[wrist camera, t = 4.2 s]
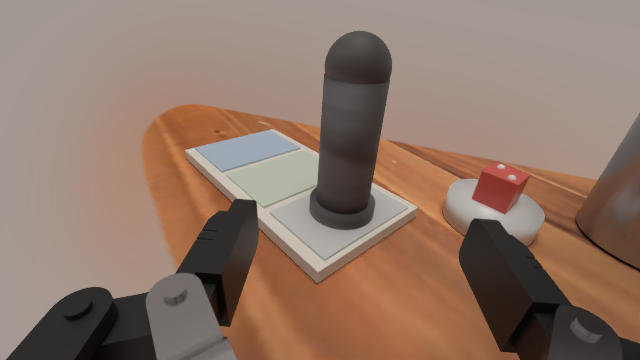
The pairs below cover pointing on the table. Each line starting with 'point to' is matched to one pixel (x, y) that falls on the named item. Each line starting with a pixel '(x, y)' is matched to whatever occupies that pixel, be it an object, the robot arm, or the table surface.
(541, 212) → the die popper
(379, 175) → the table surface
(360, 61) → the charcoal pawn
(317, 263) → the game board
